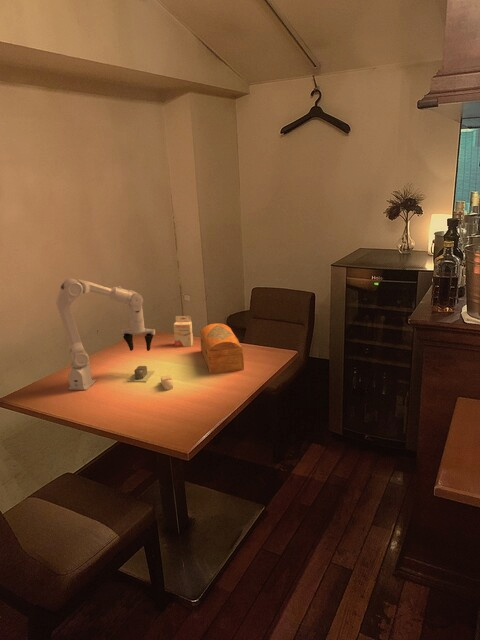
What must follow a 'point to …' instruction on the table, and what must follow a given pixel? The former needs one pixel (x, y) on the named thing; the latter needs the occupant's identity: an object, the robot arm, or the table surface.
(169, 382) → the ivory plug
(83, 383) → the robot arm
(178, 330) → the ink cartridge box
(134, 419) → the table surface
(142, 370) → the tan-capped grey bottle
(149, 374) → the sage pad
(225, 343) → the wooden box
